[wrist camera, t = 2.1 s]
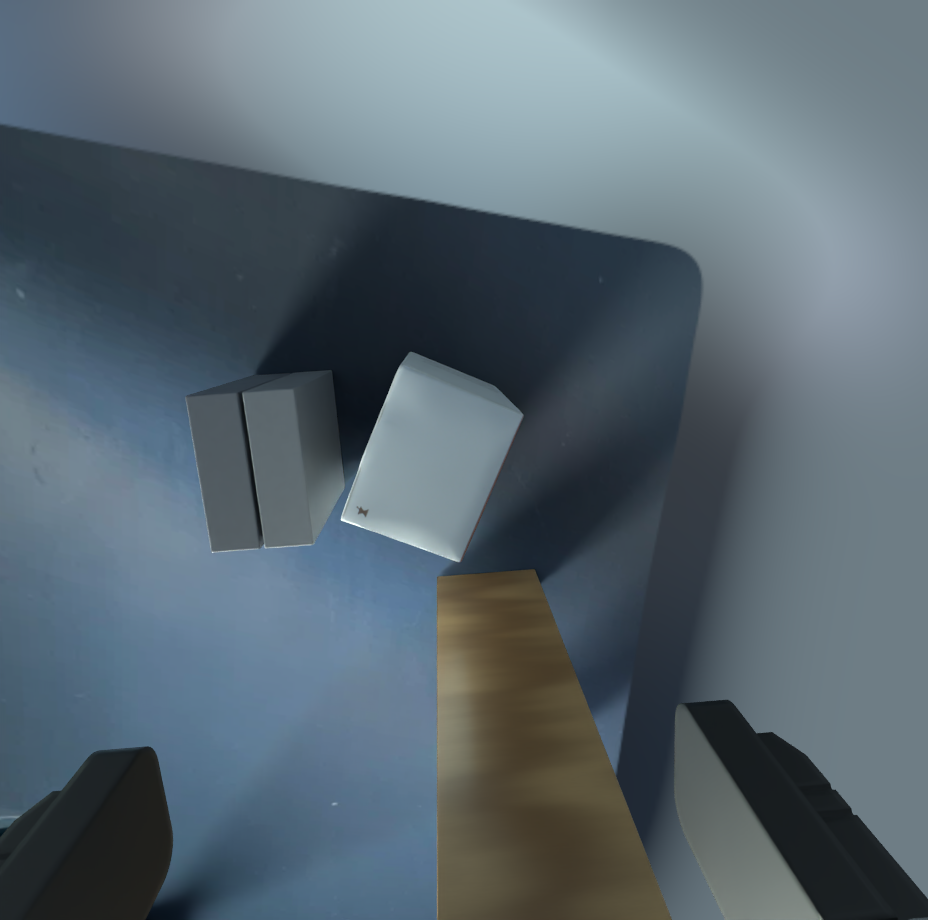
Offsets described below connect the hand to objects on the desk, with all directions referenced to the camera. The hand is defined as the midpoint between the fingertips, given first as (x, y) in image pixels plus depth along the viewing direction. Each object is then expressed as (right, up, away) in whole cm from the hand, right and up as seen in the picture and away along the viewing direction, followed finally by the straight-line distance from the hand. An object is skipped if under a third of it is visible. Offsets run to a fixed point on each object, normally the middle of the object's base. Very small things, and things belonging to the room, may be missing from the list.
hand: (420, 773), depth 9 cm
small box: (-2, +7, +32) cm, 33 cm away
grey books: (-10, +7, +32) cm, 34 cm away
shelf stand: (+3, -11, +36) cm, 38 cm away
